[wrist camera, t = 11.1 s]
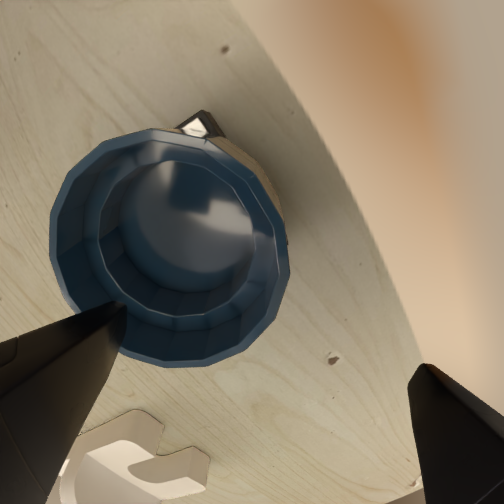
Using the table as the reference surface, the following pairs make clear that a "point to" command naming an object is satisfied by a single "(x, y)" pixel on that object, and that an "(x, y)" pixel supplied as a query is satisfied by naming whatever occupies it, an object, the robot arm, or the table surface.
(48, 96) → the table surface
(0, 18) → the table surface
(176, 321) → the bowl
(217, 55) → the table surface
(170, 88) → the table surface
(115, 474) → the slotted base with upright
